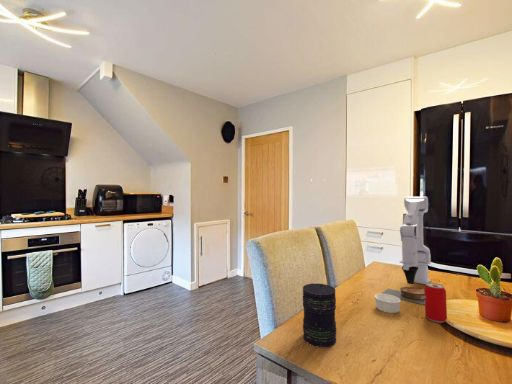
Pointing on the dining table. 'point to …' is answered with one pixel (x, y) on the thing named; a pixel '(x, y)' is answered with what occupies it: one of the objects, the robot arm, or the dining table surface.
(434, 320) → the beverage can
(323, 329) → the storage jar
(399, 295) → the mat
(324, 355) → the dining table surface
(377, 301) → the ramekin
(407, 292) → the tin
